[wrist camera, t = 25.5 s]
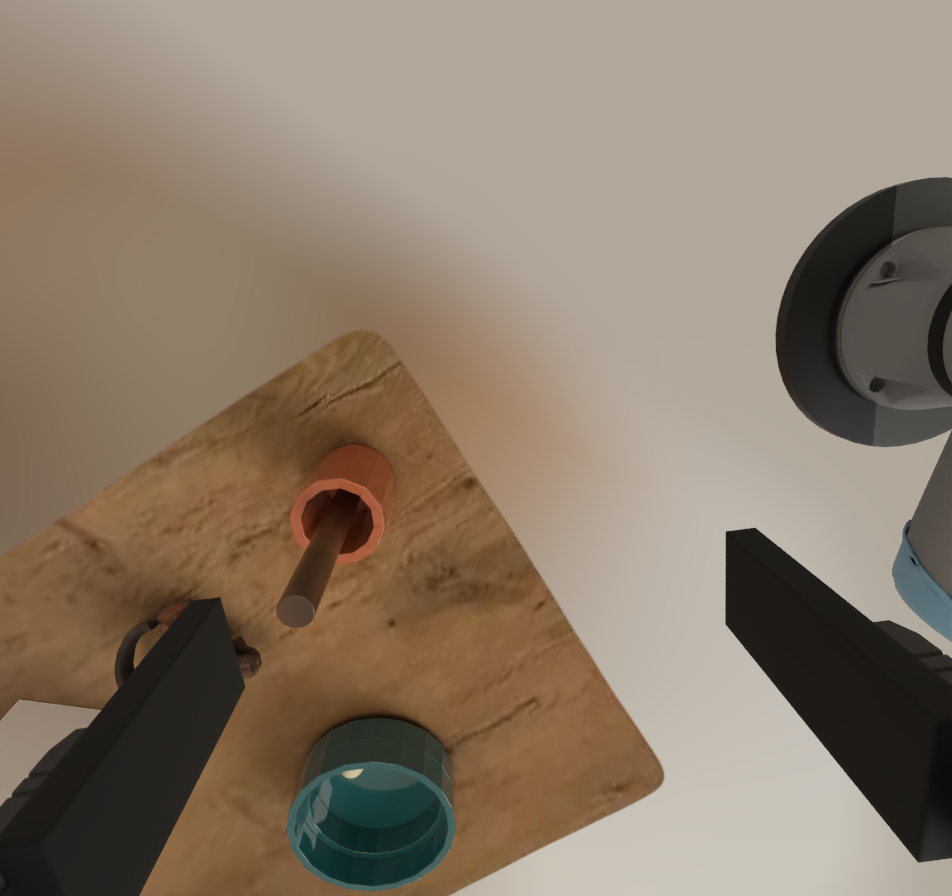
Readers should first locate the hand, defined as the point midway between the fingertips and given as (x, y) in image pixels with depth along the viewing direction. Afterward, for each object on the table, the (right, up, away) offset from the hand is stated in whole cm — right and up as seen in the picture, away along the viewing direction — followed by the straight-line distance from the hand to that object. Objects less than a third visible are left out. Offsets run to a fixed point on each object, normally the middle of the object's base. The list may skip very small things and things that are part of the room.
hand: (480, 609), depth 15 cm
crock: (-11, +1, +35) cm, 36 cm away
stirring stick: (-11, +1, +34) cm, 36 cm away
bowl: (-10, -30, +44) cm, 54 cm away
